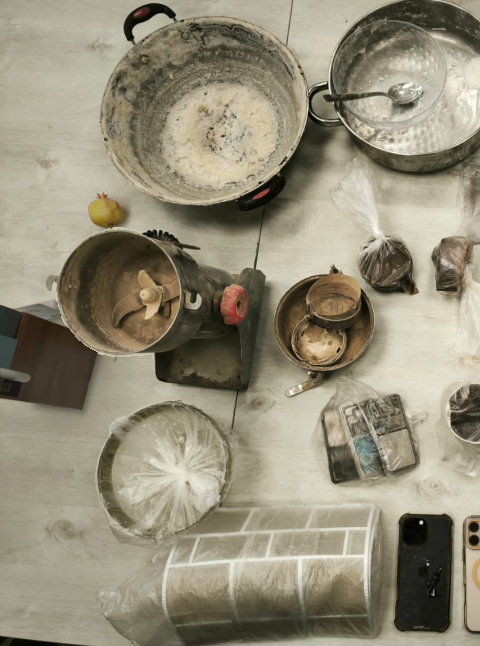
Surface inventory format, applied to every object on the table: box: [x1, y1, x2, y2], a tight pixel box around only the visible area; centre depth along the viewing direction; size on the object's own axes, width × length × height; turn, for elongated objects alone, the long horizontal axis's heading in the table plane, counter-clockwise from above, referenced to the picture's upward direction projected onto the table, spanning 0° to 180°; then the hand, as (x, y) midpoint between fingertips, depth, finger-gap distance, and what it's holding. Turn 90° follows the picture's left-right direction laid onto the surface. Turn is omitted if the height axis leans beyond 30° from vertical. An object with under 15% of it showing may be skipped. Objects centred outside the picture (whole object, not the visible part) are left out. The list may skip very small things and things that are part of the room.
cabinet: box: [0, 304, 99, 410], centre depth 105 cm, size 10×16×34 cm, turn 173°
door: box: [0, 335, 30, 382], centre depth 94 cm, size 6×8×9 cm
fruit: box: [87, 191, 124, 230], centre depth 126 cm, size 7×7×10 cm
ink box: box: [13, 299, 63, 320], centre depth 119 cm, size 2×11×10 cm, turn 104°
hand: (15, 389), depth 93 cm, fingers closed
